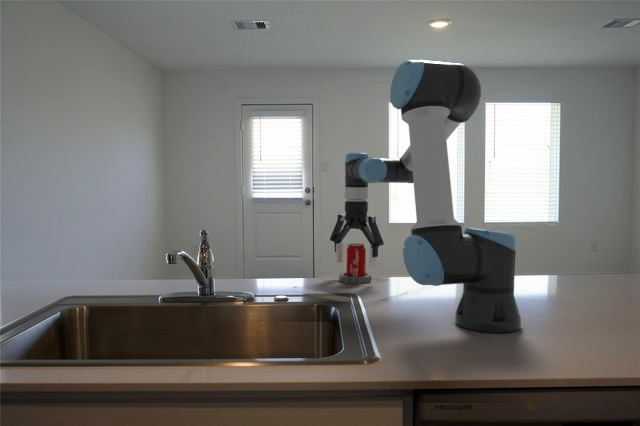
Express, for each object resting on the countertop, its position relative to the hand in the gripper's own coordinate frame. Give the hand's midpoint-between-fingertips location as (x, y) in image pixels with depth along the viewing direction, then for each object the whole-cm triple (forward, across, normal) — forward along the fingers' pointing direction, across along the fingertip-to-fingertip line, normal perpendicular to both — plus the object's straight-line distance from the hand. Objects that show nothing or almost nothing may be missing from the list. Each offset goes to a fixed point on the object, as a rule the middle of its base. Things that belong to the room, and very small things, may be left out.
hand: (355, 264), depth 172 cm
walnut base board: (+7, 0, 0) cm, 7 cm away
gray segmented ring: (+5, 0, 0) cm, 5 cm away
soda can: (+5, 0, 0) cm, 5 cm away
